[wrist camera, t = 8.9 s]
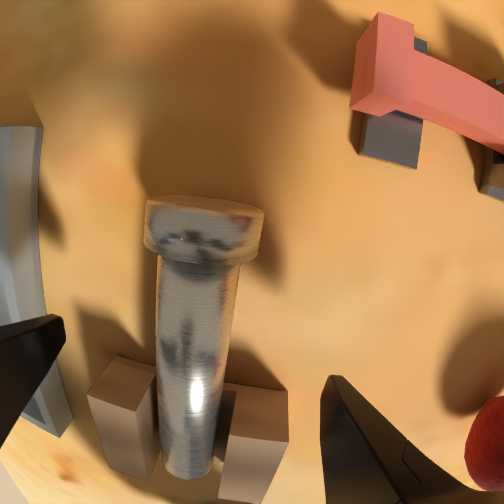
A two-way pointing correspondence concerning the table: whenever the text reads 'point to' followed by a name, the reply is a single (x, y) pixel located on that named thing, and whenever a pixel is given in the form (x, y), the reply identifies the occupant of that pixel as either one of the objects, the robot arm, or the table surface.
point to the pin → (195, 316)
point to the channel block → (227, 439)
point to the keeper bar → (422, 85)
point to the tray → (26, 262)
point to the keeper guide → (409, 137)
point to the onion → (487, 446)
